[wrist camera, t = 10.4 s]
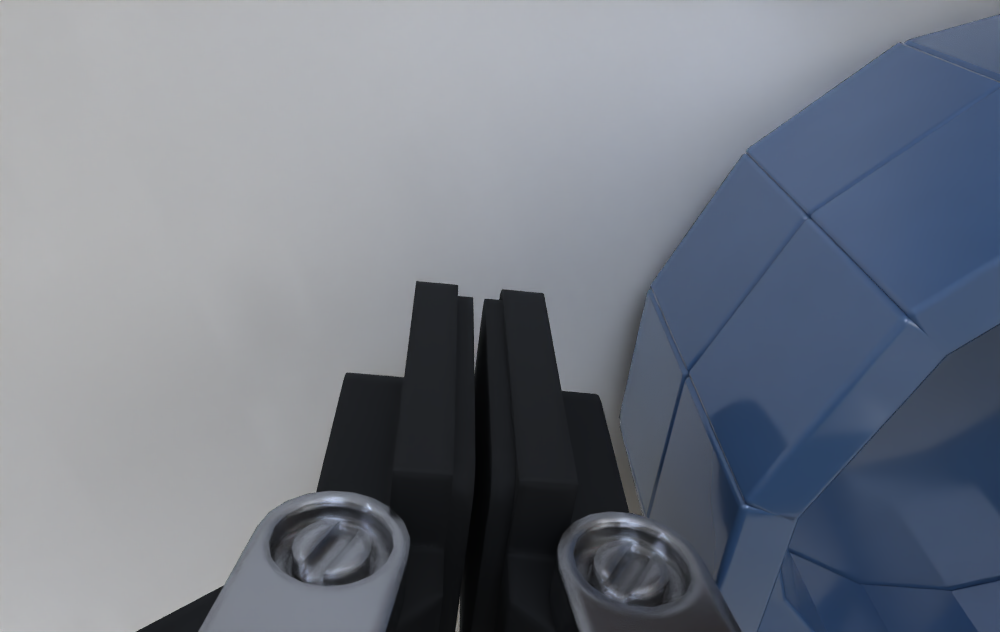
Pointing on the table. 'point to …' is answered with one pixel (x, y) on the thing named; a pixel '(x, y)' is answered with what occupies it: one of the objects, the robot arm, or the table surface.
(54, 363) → the table surface
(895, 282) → the bowl
